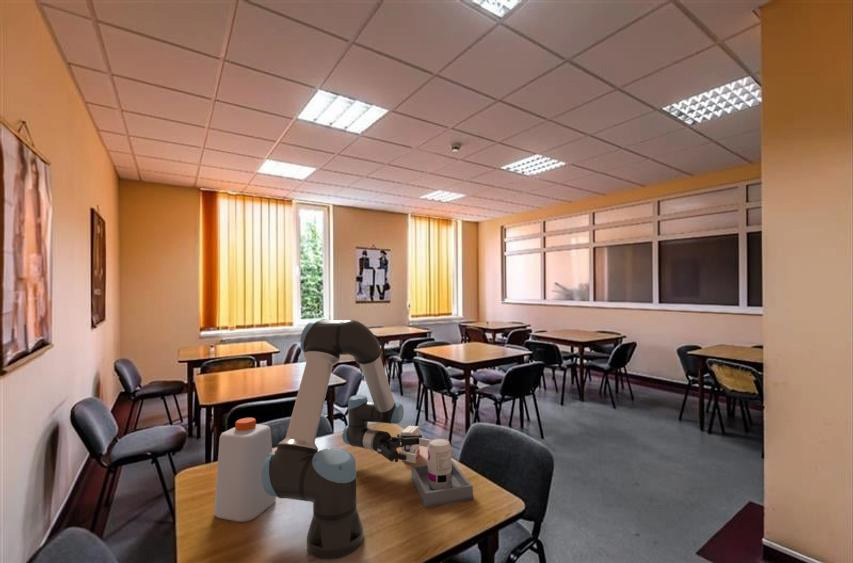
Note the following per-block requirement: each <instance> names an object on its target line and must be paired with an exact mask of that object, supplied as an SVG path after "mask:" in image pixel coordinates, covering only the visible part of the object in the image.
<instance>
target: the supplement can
mask: <svg viewBox="0 0 853 563" xmlns="http://www.w3.org/2000/svg"><path fill="white" fill-rule="evenodd" d="M429 440H430V441H429V444H428V447H427V464H428V485H429V487H430V488H431V489H433V490H440V489H447V488H450V487H451V485H452V461H453V460H452V445H451V443H450V440H449V439H446V438H442V437H441V438H440V437H439V438H432V439H429Z"/></svg>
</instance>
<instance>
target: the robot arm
mask: <svg viewBox="0 0 853 563" xmlns="http://www.w3.org/2000/svg"><path fill="white" fill-rule="evenodd" d="M299 341H300V344H299V346H300V349H301V350H302V352H303V357H304V359H305V361H306V362H305V366H304V370H303V373H302V376H301V380H300V384H299V387H298V388H299V389H298V391H297V395H296V398H295V403H294V406H293V408H292V409H293V410H292V413H291V416H290V420H289V425H288V427H287V430H286V431H287V432H286V435H285V438H284V439H283V440H281V441H280V442H278V444H277V448H276V450H273V451H272V452H271V453H270V454H269V455H268V457H267V458H266V459H265V461H264V464H263V467H262V474H261V480H262V485H263V488H264V490H265V492H266V493H267V494H269V495H271V496H275V497H276V498H278V499H288V500H296V501H304V502H311V503H312V507H313V508H312V510H313V511H312V513H313V514H312V518H311V522H310V524H309V528H308V531H307V535H306V548H307V551H308V553H309V554H311V555H312V556H313V557H315V558H316V557H317V558H319V559H325V560H327V559H337V558H341V557H344V556H347V555H349V554H351V553H352V552H355V550H357V549H358V548H359V547H360V545H361V544H362V543H363V540H364V526H363V524H362V520H361V517H360V514H359V512H358V509H357V475H358V474H357V473H358V472H357V466H356V465H357V464H356V463H357V462H356V458H355V457H354V456H353V454H352V453H351V452H349V451H348V450H345V449H343V448H335V447H331V448H323V449H320V450H319V448H318V446H317V444H316V439H317V434H318V430H319V425H320V421H321V416H322V413H323V408H324V404H325V399H326V395H327V392H328V389H329V385H330V384H329V383H330V380H331V375H332V370H333V368H334V367H333V366H335V365H336V364H338V363H339V361H340V357H341V355H345V356H347V355H348V356H352V357H353V360H354V361H355V363H356V364H358V365H359V367H360V370H361V372H362V374H363V377H364V379H365V383H366V385H367V389H368V391H369V394H370V397H371V399H372V401H369V400H368V397H367V395H363V394H357V395H352V396H350V397H349V399H348V402H347V403H348V405H347V414H348V424H347V425H346V426H345V427H344V429H343V430H342V431H343V432H342V434H341V435H342V436H341V437H342V441H343V443H344V444H347V445H349V446H352V447H357V448H361V449H364V450H365V449H366V450H369V451H371V452H377V454H379V455H381V456H383V457H384V458H386V459H387V461H388V460H389V462H395V463H398V462H399V460H401V461H402V460H403V461H402V462H406V463H413V464H416V463H417V458H416V454H412V453H407V452H403V451H402V450H399V451H398V450H397V449H398V448H401V447H403V446H406V445H418V444H419V446H420V447H423V448H428V444H429V441H430V440H431V439H428V438H424V437H423V435H421V434H419V435H401V433H400V434H399V433H398V434H396V436H391V434H390V433H389V432H388V431H384V430H380V429H375V428H369V427H368V426H369V425H368V424H369V423H378V424H380V423H381V424H389V425H392V424H396V425H398V424H401V422H402V421H403V418H404V410H405V409H404V406H403V405H404V404H402V403H398V402H395V399H394V396H393V393H392V390H391V387H390V383H389V381H388V380H389V379H388V377H387V374H386V370H385V368H384V365H383V361H382V358H381V356H382V352H383V351H382V348H381V345H380V343H379V341H378V338H377V337H376V336H375V335H374V333H373V331H372V330H371V329H370V328H368V327H367V326H366V325H365V324H363V323H361V322H360V321H358V320H355V319H326V318H323V319H318V320H317V319H316V320H315V319H314V320H312V321H310V322H308V323H307V324H306V325H305V326H304V328H303V330H302V332H301V335H300V338H299Z"/></svg>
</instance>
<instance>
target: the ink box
mask: <svg viewBox="0 0 853 563" xmlns="http://www.w3.org/2000/svg"><path fill="white" fill-rule="evenodd" d="M400 434H401V435H420V426H418V425H408V426H407V427H406V428H405V429H403V430H402V431H401V432H400ZM420 447H421V446H419V444H418V445H406V446H403V447H400V448H401V451H403V452H407V453H412V454H416V459H417V458H418V457H419V455H420V454H421V453H420V451H421V449H420ZM401 461H402V462H404V461H403V460H401Z"/></svg>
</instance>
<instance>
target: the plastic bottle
mask: <svg viewBox="0 0 853 563" xmlns="http://www.w3.org/2000/svg"><path fill="white" fill-rule="evenodd" d="M234 424H235V425H234V426H235V427H231V428H230V429H228V430H226V431H224V432H222V433H221V434H220V436H219V441H218V454H217V455H218V456H217V468H216V470H217V471H216V480H215V481H216V484H215V494H214V495H215V497H214V509H213V513H214V515H215V517H216V518H219V519H222V520H227V521H232V522H238V523H244V522H249V521H251V520H254V519H255V518H257V517H258V516H260V515H261V514H262V513H264V512H265V511H266V510H267V509H268V508H270V507H271V506H273V504H274V503H275V502H276V500H277V497H275V496H271V495H269V494H267V493H266V492H265V490H264V488H263V485H262V480H261V474H262V467H263V464H264V461H265V459H266V458H267V457H268V455H269V454H270V453H271V452H273V444H272V432H271V431H272V430H271V427H270V426H269V425H267V424H259V423H257V420H256V418H254V417H244V418H240V419H238V420H236V421H235V423H234Z"/></svg>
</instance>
